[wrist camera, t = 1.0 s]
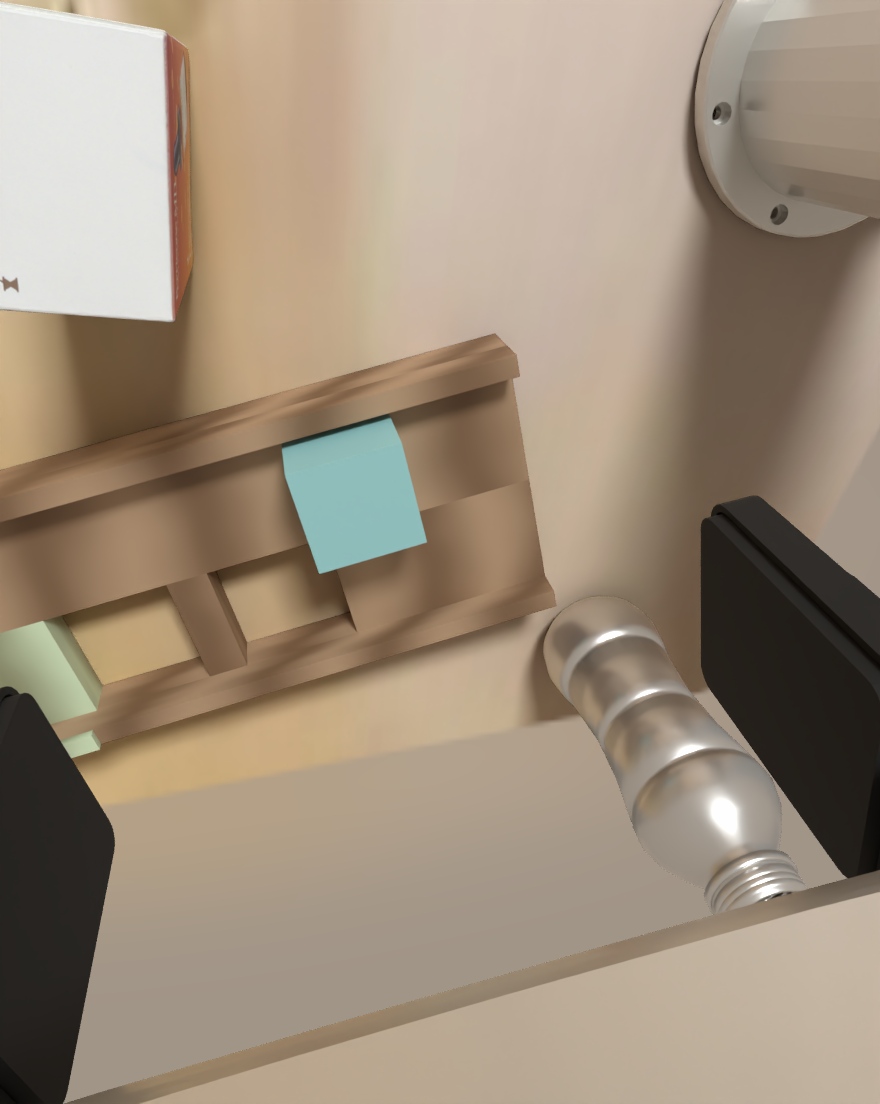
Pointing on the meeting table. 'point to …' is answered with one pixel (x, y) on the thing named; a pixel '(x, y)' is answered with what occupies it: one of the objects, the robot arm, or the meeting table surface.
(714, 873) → the plastic bottle
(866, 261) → the meeting table surface
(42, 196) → the small box
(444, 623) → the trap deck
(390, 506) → the block
